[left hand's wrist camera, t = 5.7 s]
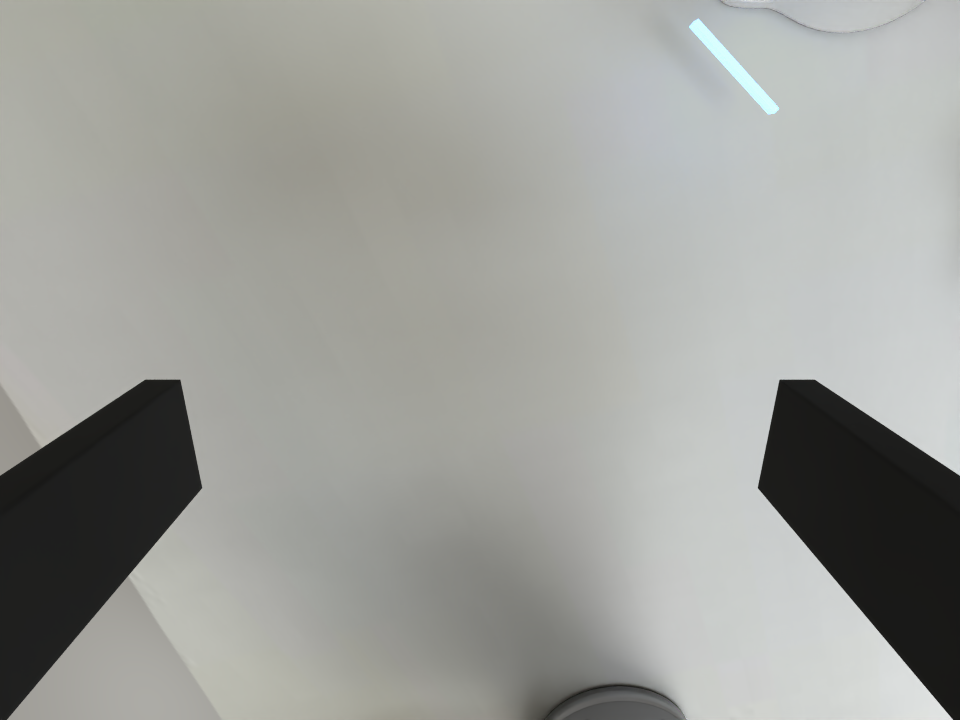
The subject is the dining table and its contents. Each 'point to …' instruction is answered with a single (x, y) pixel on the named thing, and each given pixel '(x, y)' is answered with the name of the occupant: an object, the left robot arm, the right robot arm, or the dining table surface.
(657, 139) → the dining table surface
